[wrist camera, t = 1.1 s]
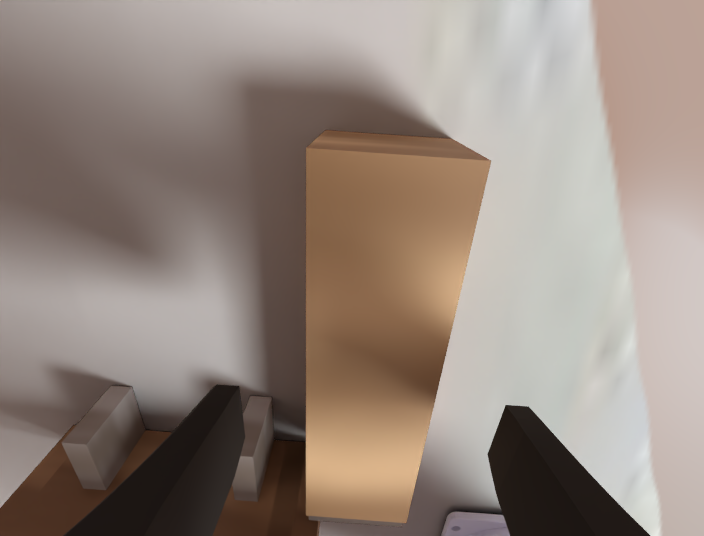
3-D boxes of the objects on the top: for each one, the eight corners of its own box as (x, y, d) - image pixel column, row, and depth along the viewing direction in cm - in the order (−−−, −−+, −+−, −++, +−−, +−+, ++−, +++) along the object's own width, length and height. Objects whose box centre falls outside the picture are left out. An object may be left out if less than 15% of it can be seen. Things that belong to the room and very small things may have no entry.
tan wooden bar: (397, 441, 18) (404, 530, 14) (318, 435, 18) (306, 522, 14) (451, 138, 11) (491, 160, 8) (325, 129, 11) (306, 148, 8)
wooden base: (326, 463, 18) (307, 634, 13) (82, 445, 19) (-47, 606, 13) (328, 401, 16) (308, 571, 11) (53, 381, 16) (-116, 539, 11)
